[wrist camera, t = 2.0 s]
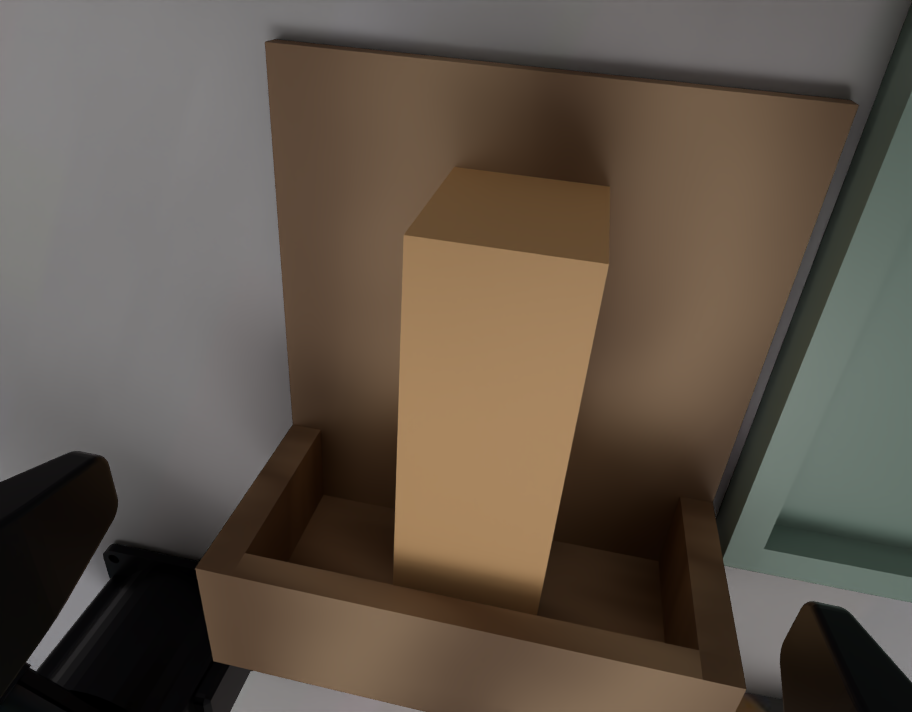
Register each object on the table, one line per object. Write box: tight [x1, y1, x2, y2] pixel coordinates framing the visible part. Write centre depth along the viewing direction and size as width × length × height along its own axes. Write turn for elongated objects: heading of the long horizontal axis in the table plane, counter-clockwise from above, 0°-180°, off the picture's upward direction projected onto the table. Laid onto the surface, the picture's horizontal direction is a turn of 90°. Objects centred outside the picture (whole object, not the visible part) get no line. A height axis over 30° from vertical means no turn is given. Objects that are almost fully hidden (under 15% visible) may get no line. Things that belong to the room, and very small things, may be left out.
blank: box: [393, 167, 610, 616], centre depth 18 cm, size 4×12×5 cm, turn 176°
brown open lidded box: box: [195, 39, 859, 712], centre depth 18 cm, size 14×16×7 cm
